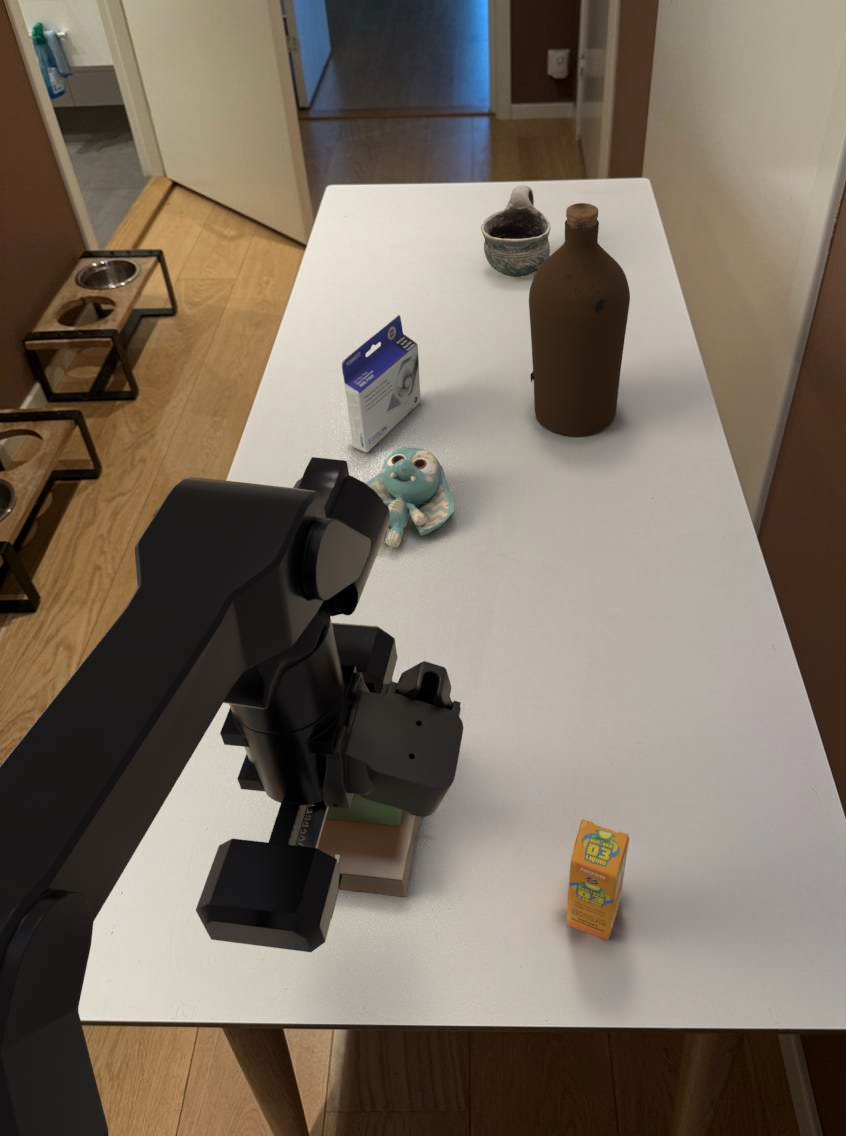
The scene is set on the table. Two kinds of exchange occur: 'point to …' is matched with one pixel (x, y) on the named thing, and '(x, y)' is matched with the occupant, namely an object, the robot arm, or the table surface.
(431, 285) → the table surface
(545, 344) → the olive oil
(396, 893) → the brown rectangular platform
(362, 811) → the green box
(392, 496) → the stuffed animal
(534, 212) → the mug
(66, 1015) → the robot arm
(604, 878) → the supplement box
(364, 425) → the ink box
